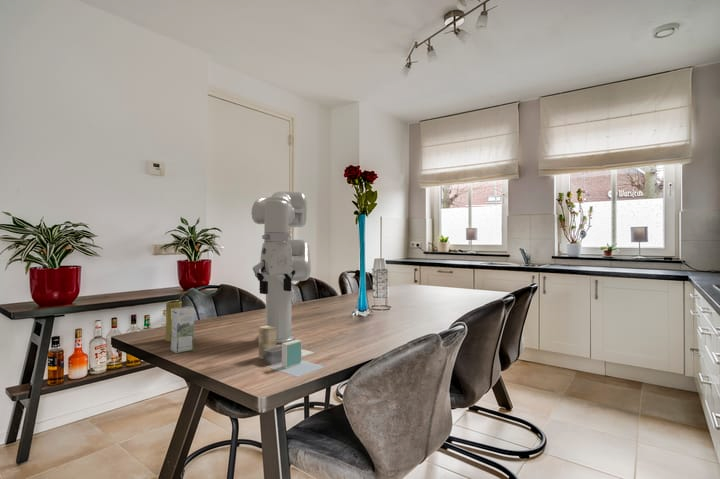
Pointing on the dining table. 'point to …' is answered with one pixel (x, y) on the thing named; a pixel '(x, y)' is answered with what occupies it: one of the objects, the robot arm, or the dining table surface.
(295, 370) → the mat
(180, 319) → the syrup box
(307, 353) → the coaster
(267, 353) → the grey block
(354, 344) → the dining table surface
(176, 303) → the vase
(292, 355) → the tile
